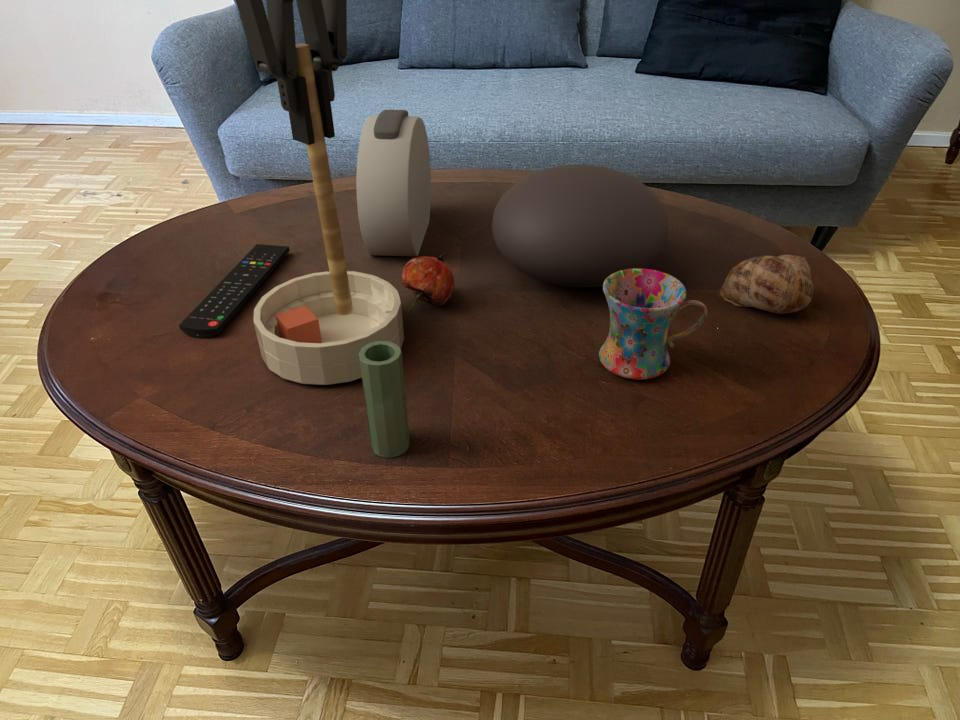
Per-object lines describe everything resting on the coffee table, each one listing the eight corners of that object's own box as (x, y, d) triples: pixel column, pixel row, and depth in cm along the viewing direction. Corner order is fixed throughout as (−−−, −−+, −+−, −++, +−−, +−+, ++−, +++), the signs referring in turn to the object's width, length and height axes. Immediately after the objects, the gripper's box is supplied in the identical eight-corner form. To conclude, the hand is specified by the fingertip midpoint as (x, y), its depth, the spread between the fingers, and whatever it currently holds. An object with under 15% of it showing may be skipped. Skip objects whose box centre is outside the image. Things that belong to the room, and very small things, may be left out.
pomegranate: (436, 335, 96) (479, 276, 97) (402, 308, 91) (448, 245, 92) (407, 317, 102) (448, 261, 102) (373, 290, 97) (417, 231, 97)
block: (292, 356, 88) (287, 329, 86) (280, 341, 91) (275, 314, 88) (323, 345, 90) (318, 318, 87) (310, 331, 92) (305, 304, 90)
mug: (594, 383, 84) (602, 306, 78) (595, 339, 91) (603, 265, 85) (699, 392, 82) (716, 314, 76) (692, 346, 90) (706, 272, 84)
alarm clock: (390, 209, 125) (380, 92, 113) (433, 210, 124) (426, 92, 112) (364, 267, 107) (348, 137, 96) (413, 269, 107) (403, 138, 95)
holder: (389, 463, 73) (378, 370, 66) (363, 446, 76) (350, 353, 69) (417, 443, 76) (409, 351, 69) (391, 427, 78) (381, 336, 71)
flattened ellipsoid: (473, 244, 113) (472, 152, 105) (620, 225, 118) (630, 136, 109) (519, 326, 94) (521, 222, 85) (692, 300, 99) (711, 198, 90)
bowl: (323, 408, 81) (315, 365, 77) (234, 350, 90) (224, 310, 87) (432, 341, 91) (429, 301, 88) (342, 295, 101) (337, 257, 97)
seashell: (785, 274, 103) (817, 237, 93) (798, 332, 99) (833, 298, 90) (713, 276, 102) (738, 238, 93) (724, 334, 99) (750, 300, 90)
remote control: (290, 254, 111) (288, 246, 110) (217, 340, 92) (214, 331, 91) (258, 251, 112) (256, 244, 111) (179, 336, 93) (176, 327, 92)
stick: (346, 317, 86) (299, 48, 69) (333, 313, 86) (284, 47, 70) (356, 309, 87) (313, 44, 70) (343, 306, 88) (298, 43, 71)
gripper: (316, -137, 68) (346, 114, 82) (171, -133, 59) (231, 149, 73) (369, -136, 64) (391, 127, 78) (222, -132, 55) (276, 166, 68)
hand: (314, 137), depth 75 cm, fingers closed on stick, 2 cm apart
